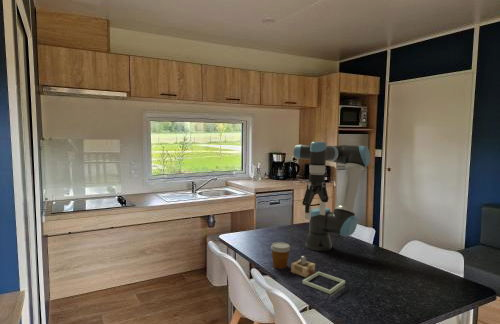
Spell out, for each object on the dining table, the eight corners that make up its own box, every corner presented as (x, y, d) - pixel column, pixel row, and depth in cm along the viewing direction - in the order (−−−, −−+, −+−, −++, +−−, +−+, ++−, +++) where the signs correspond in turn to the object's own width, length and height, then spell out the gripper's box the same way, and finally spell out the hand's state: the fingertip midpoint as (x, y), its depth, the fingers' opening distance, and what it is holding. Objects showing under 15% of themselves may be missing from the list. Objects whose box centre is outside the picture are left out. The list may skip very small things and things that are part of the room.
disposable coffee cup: (274, 273, 151) (274, 249, 150) (267, 265, 160) (268, 242, 159) (292, 271, 153) (293, 247, 152) (285, 264, 162) (286, 241, 161)
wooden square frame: (300, 267, 155) (300, 259, 155) (316, 272, 149) (317, 264, 149) (291, 271, 150) (291, 263, 149) (307, 278, 143) (308, 269, 143)
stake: (300, 270, 155) (301, 252, 154) (313, 275, 150) (313, 256, 149) (292, 274, 150) (293, 256, 149) (305, 279, 145) (305, 260, 144)
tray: (318, 277, 148) (318, 271, 148) (345, 286, 139) (345, 280, 139) (302, 286, 138) (302, 280, 138) (330, 297, 129) (330, 291, 129)
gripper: (323, 171, 165) (321, 211, 166) (295, 174, 146) (294, 219, 148) (336, 172, 160) (334, 214, 161) (309, 176, 141) (308, 223, 143)
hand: (315, 217), depth 155 cm, fingers open, 13 cm apart
